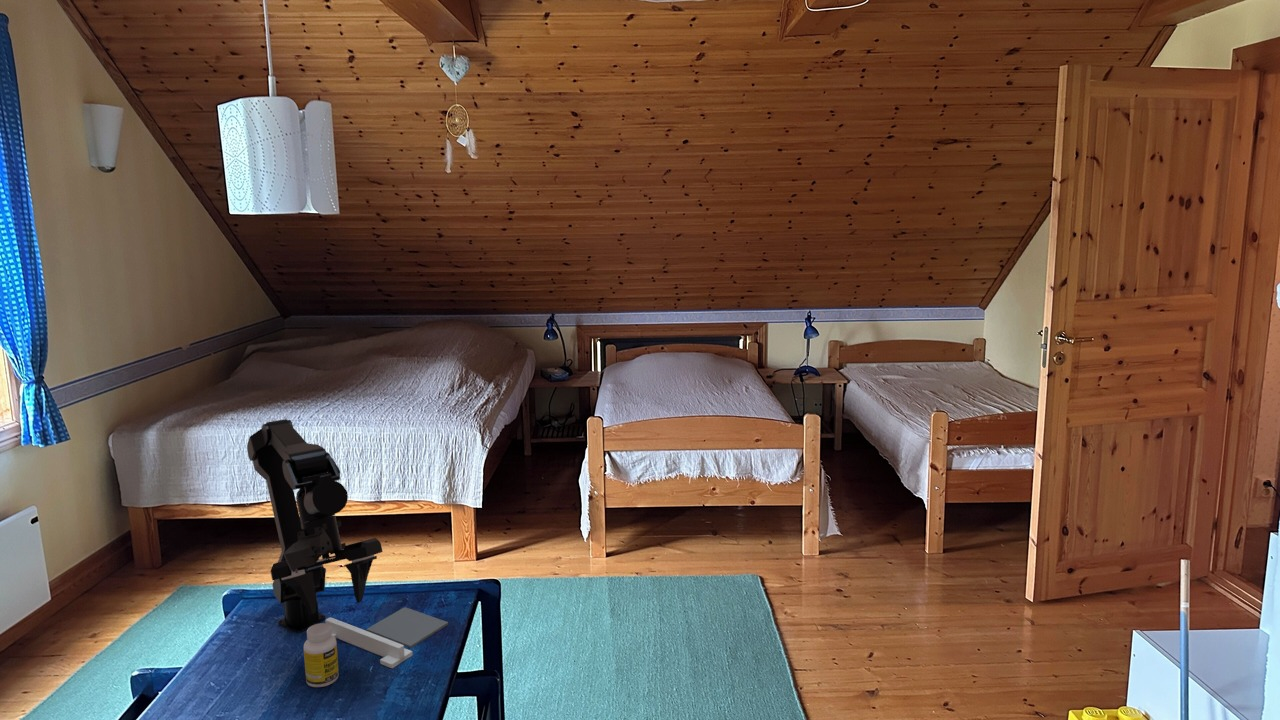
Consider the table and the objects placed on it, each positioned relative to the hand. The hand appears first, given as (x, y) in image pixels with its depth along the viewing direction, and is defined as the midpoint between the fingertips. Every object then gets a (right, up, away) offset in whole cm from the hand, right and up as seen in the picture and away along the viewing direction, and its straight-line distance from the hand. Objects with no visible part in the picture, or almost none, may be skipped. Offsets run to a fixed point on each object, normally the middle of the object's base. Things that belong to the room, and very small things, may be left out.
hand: (336, 607), depth 142 cm
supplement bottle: (-3, -13, +2) cm, 14 cm away
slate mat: (+7, -10, +19) cm, 22 cm away
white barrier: (+1, -11, +12) cm, 16 cm away
